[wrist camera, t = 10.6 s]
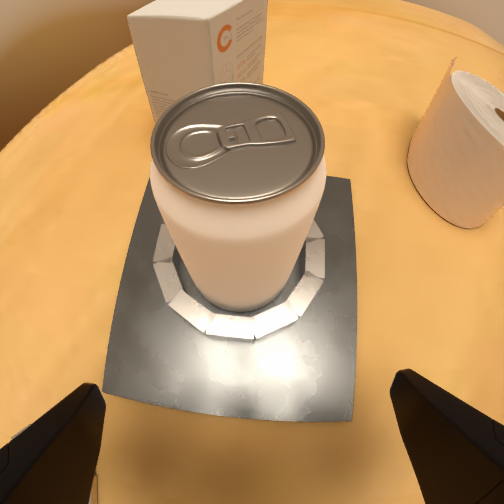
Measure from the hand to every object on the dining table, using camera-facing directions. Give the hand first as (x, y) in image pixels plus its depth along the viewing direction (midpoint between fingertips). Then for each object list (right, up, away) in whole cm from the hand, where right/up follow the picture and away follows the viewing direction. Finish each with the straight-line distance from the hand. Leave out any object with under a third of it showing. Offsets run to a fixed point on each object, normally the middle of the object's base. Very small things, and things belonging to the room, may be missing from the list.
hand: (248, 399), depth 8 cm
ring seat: (-1, +3, +13) cm, 13 cm away
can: (-1, +3, +13) cm, 13 cm away
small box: (-3, +15, +18) cm, 24 cm away
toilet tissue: (+19, +11, +17) cm, 28 cm away
